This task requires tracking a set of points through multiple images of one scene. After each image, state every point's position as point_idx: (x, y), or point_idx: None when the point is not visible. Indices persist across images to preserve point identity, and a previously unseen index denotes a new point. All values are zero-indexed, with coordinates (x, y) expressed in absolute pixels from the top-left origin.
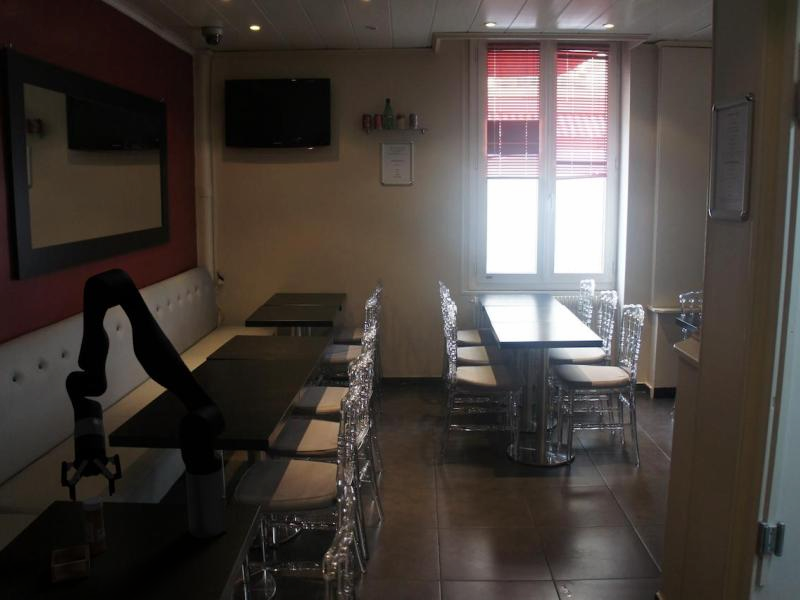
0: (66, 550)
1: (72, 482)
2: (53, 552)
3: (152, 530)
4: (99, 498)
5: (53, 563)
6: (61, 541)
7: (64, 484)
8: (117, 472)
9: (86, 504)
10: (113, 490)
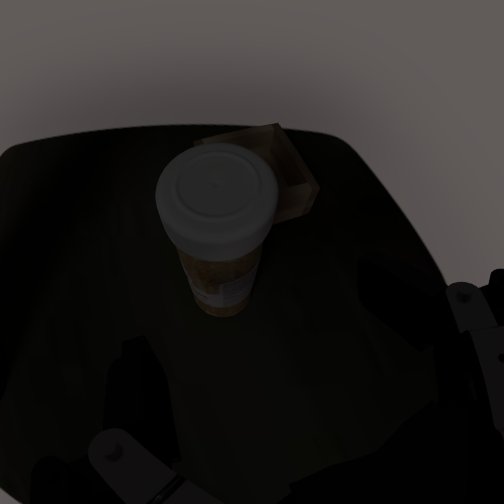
0: (281, 190)
1: (457, 297)
2: (311, 178)
3: (87, 401)
4: (173, 201)
5: (280, 135)
6: (357, 344)
7: (484, 289)
8: (57, 484)
9: (235, 145)
10: (118, 364)
